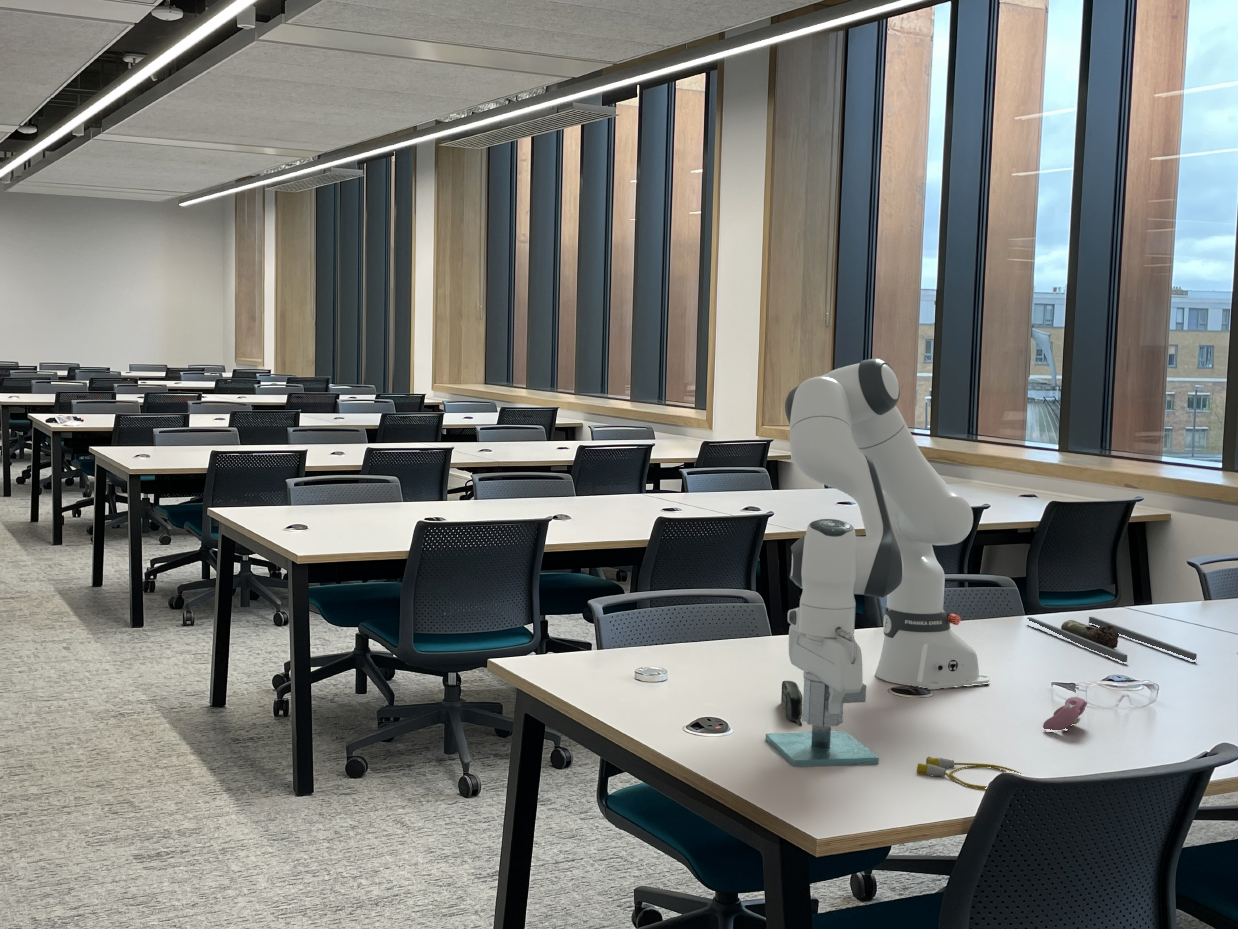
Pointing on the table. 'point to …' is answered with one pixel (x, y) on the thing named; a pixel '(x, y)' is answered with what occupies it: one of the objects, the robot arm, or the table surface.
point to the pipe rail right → (1144, 638)
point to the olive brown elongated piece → (1093, 633)
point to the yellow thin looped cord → (937, 769)
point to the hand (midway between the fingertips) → (822, 706)
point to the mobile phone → (792, 701)
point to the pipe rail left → (1083, 641)
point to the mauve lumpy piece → (1066, 714)
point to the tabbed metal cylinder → (824, 702)
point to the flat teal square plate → (821, 748)
